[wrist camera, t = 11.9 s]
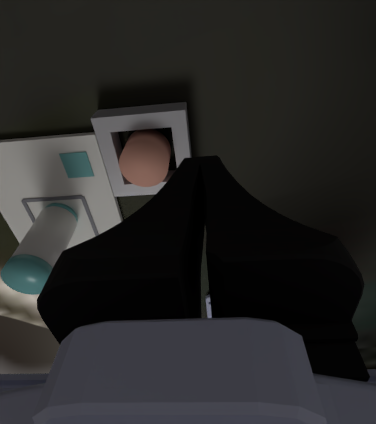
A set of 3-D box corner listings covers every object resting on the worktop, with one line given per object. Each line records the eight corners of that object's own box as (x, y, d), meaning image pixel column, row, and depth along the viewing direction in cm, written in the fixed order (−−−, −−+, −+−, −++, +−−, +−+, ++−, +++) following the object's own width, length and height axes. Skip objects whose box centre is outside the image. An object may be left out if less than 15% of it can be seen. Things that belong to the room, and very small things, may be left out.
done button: (173, 168, 22) (171, 185, 20) (131, 171, 22) (125, 188, 20) (167, 126, 20) (164, 141, 18) (121, 130, 20) (113, 145, 18)
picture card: (140, 279, 31) (140, 284, 30) (48, 283, 31) (46, 288, 31) (96, 131, 21) (94, 135, 20) (-36, 143, 22) (-41, 146, 21)
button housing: (194, 180, 23) (193, 191, 22) (118, 185, 24) (114, 196, 22) (186, 101, 19) (185, 109, 18) (97, 109, 20) (90, 118, 19)
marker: (84, 228, 26) (57, 292, 20) (50, 232, 26) (15, 296, 21) (71, 199, 24) (37, 260, 18) (35, 203, 24) (-9, 265, 19)
